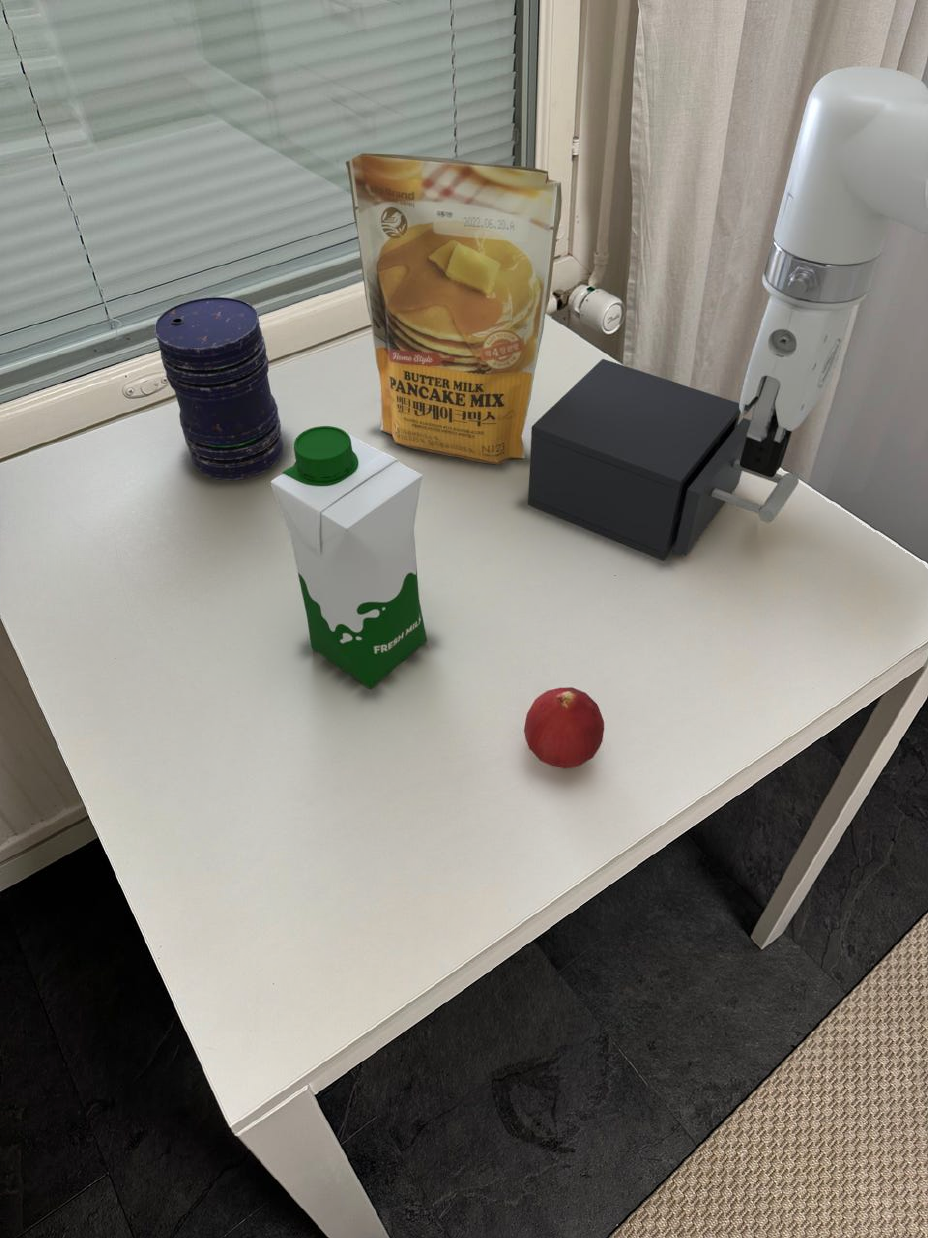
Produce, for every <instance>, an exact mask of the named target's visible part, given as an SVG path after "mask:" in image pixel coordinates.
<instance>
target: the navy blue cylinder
mask: <svg viewBox="0 0 928 1238" xmlns="http://www.w3.org/2000/svg"><path fill="white" fill-rule="evenodd" d="M260 324H261V322H260V318H259V314H258V311H257V309H256V308H255V307H254V306H253V305H252V304H250V303H249V302H246V301H244V300H241V299H237V298H233V297H226V296H209V297H208V296H207V297H201V298H195V299H191V300H188V301H185V302H181V303H179V304H177V305H174V306H173V307H170V308H169V309H167V310H166V311H164V312H163V313H162V314H161V315H160V316H159V317H158V318H157V320H156V321H155V323H154V334H155V337H156V340H157V342H158V347H159V351H160V359H161V362H162V366H163V369H164V370H165V376H166V379H167V381H168V383H169V386H170V387H171V388H172V389H173V391H174V393H175V397H176V401H177V404H178V408H179V414H178V417H179V424H180V427H181V429H182V434H183V438H184V441H185V444H186V446H187V447H188V450H189V452H190V456H191V461H192V464H193V466H194V467H195V469H196V470H197V471H198V472H200V473H201V474H203V476H206V477H209V478H211V479H212V478H213V479H216V480H221V481H222V480H223V481H236V480H244V479H249V478H252V477H255V476H258V475H260V474H261V475H262V474H263V473H265V472H266V471H268V470H270V469H272V467H273V466H275V465H276V464H277V463H278V462H279V460H280V459H281V458H282V456H283V454H284V451H285V450H284V448H285V447H284V441H283V438H282V430H281V429H282V424H281V419H280V415H279V408H278V404H277V402H276V399H275V397H274V396H273V394H272V392H271V385H270V381H269V377H268V376H269V375H268V373H269V358H268V355H267V348H266V343H265V338H264V335H263V332H262V330H261V325H260Z"/></svg>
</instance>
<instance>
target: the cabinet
mask: <svg viewBox="0 0 928 1238" xmlns="http://www.w3.org/2000/svg"><path fill="white" fill-rule="evenodd" d="M739 404H740V402H737V401H734V400H730V399H728V398H724V397H721V396H719V395H715V394H712V393H710V392H706V391H704V390H700V389H697V388H694V387H690V386H688V385H684V384H681V383H678V382H675V381H672V380H670V379H666V378H664V377H660V376H658V375H655V374H650V373H648V372H645V371H642V370H638V369H635V368H632V367H629V366H628V365H627V366H626V365H624V364H621V363H618V362H614V361H611V360H609V359H606V358H602V359H601V360H600V361H598V362H597V363H596V364H595V365H594V366H593V367H592V368H591V369H590V370H589V371H587V373H586V374H585V375H584V376H583V377H582V378H581V379H579V380H578V381H577V383H575V384H574V385H573V386H572V387H571V388H570V389H569V390H568V391H567V392H565V394H564V395H563V396H562V397H560V399H558V401H556V402H555V403H554V405H552V406H551V407H550V408H549V409H548V410H547V411H546V412H545V413H544V414H543V415H542V416H541V417H540V418H538V420H537V421H536V422H534V423H533V425H532V426H531V432H530V433H531V435H530V436H531V437H530V453H529V472H528V491H527V505H528V506H530V507H533V508H535V509H538V510H539V511H542V512H544V513H547V514H550V515H552V516H554V517H556V518H559V519H561V520H564V521H567V522H569V523H571V524H574V525H576V526H579V527H581V528H584V529H586V530H589V531H590V532H593V533H595V534H598V535H600V536H602V537H605V538H608V539H610V540H612V541H615V542H618V543H620V544H622V545H625V546H626V547H630V548H632V549H634V550H636V551H639V552H641V553H644V554H646V555H649V556H651V557H654V558H656V559H658V560H661V561H665V560H666V559H667V558H668V556H670V554H671V552H672V551H674V548H675V544H676V539H677V535H678V530H679V526H680V521H681V517H682V515H681V517H680V518H679V519H678V521H677V522H676V523H675V521H676V516H677V512H678V507H679V502H680V498H681V493H682V488H683V484H684V483H685V482H686V481H687V479H688V478H689V477H690V476H691V474H692V473H693V472H694V470H695V469H696V468H697V467H698V465H699V464H700V463H701V462H702V460H703V459H704V458H705V457H706V455H707V454H708V453H709V452H710V450H711V449H712V448H713V447H714V445H715V444H716V443H717V442H718V440H719V439H720V438H721V439H720V443H719V447H718V450H719V448H720V447H721V446H722V445H723V443H724V442H725V441H726V439H727V438H728V437H729V436H730V434H731V433H732V432H733V431H734V429H735V428H736V427H737V425H738V424H739V422H740V417H741V414H742V413H741V412H740V409H739Z"/></svg>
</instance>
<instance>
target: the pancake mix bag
mask: <svg viewBox="0 0 928 1238" xmlns="http://www.w3.org/2000/svg"><path fill="white" fill-rule="evenodd" d="M345 165H346V169H347V175H348V180H349V181H348V182H349V186H350V194H351V203H352V211H353V218H354V223H355V227H356V232H357V240H358V248H359V249H358V250H359V258H360V259H359V260H360V266H361V273H362V279H363V285H364V286H363V287H364V293H365V294H364V296H365V301H366V307H367V311H368V316H369V320H370V324H371V332H372V339H373V346H374V353H375V354H374V355H375V363H376V367H377V370H378V376H379V383H380V405H381V407H380V408H381V409H380V410H381V413H380V423H379V428H378V429H379V431H381V432H385V433H387V434H390V435H392V438H393V441H394V443H395V444H398V445H401V446H403V447H406V448H410V449H415V450H420V451H424V452H429V453H434V454H439V455H443V456H450V457H455V458H459V459H465V460H468V461H473V462H477V463H483V464H488V465H489V464H490V465H499V466H500V465H501V464H503V463H505V462H506V461H509V460H510V459H526V453H525V445H524V441H523V437H522V435H523V432H524V428H525V424H526V420H527V415H528V411H529V407H530V403H531V398H532V390H533V384H534V377H535V372H536V368H537V364H538V358H539V353H540V347H541V343H542V338H543V335H544V329H545V319H546V313H547V311H548V306H549V303H550V299H551V289H552V279H553V271H554V261H555V255H556V245H557V237H558V231H559V227H560V224H561V218H562V205H563V204H562V203H563V195H562V182H561V181H557V180H553V179H550V176H549V171H548V170H544V169H540V168H536V167H531V166H521V165H519V166H518V165H509V164H498V163H493V164H492V163H481V162H473V161H467V160H460V159H454V158H447V157H435V156H424V155H423V156H421V155H407V154H397V153H395V154H394V153H393V154H392V153H391V154H390V153H368V152H367V153H365V152H362V153H360V154H358V155H356V156H354V157H352V158H350V159H348V160H346V161H345Z"/></svg>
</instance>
